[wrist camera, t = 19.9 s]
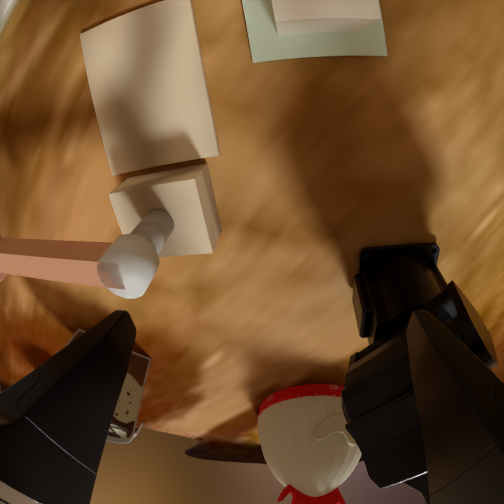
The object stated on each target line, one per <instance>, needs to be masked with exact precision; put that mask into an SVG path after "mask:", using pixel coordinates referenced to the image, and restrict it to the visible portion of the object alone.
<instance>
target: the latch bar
mask: <svg viewBox="0 0 504 504" xmlns="http://www.w3.org/2000/svg"><path fill="white" fill-rule="evenodd" d="M158 267H159V257H158V254H157V251H156V250H155V248H154V247H153V245H152V244H151V243H150V242H149V241H147V240H146V239H145V238H143V237H141V236H139V235H136V234H123V235H121V236H119V237H118V238H117V239H116V240H115V241H114V242H113V243H106V242H83V241H61V240H38V239H14V238H1V236H0V282H1V281H2V280H3V279H4V278H5V277H6V276H7V275H8V274H13V275H19V276H25V277H32V278H39V279H45V280H52V281H59V282H67V283H74V284H82V285H90V286H98V287H107V288H108V289H109V290H110V291H111V292H113V293H114V294H116V295H118V296H120V297H123V298H127V299H135V298H138V297H140V296H142V295H143V294H144V293H145V291H146V289H147V288H148V286H149V284H150V282H151V280H152V278H153V277H154V275H155V273H156V271H157V270H158Z"/></svg>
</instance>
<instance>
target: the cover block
mask: <svg viewBox="0 0 504 504" xmlns="http://www.w3.org/2000/svg"><path fill="white" fill-rule="evenodd" d="M272 6H273V11H274V17H275V22H276V27H277V32H278V35H286V34H298V33H313V32H357V31H359V30H361V29H363V28H365V27H367V26H369V25H371V24H373V23H375V22H377V21H379V20H381V15H380V9H379V4H378V0H272Z"/></svg>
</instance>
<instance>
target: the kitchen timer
mask: <svg viewBox="0 0 504 504" xmlns="http://www.w3.org/2000/svg"><path fill="white" fill-rule="evenodd" d="M343 388H344V386H342V385H334V384H306V385H300V386H294V387H289V388H286V389H283V390H280V391H277V392H275V393H273V394H272V395H270V396H268V397H267V398H265V399H264V401H263V402H262V403H261V404H260V407H259V416H258V434H259V439H260V443H261V447H262V451H263V455H264V458H265V460H266V462H267V464H268V466H269V468H270V470H271V471H272V473H273V474H274V476H275V477H276V478H277V479H278V481H279V482H281V484H282V485H283V486H284V487H285V488H284V489H283V491H282V492H281V494H280V496H279V498H278V500H277V502H279V501H282V500H283V499H284V498H285V497H286V496H287V494H289V493H290V494H292V496H293V499H292V503H291V504H345V502H344V500H343V498H342V496H341V494H340V492H339V490H338V488H337V487H338V486H339V485H341V484H342V483H343V482H344V481H345V480H346V479H347V478H348V476H349V475H350V474H351V473H352V471H353V470H354V468H355V466H356V464H357V463H358V461H359V459H360V457H361V451H360V449H359V447H358V446H357V444H356V442H355V440H354V439H353V437H352V436H351V435H350V434H349V432H348V431H347V430H346V428H345V424H347V421H346V419H345V416H344V414H343V409H342V402H341V400H342V398H341V391H342V389H343Z"/></svg>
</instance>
